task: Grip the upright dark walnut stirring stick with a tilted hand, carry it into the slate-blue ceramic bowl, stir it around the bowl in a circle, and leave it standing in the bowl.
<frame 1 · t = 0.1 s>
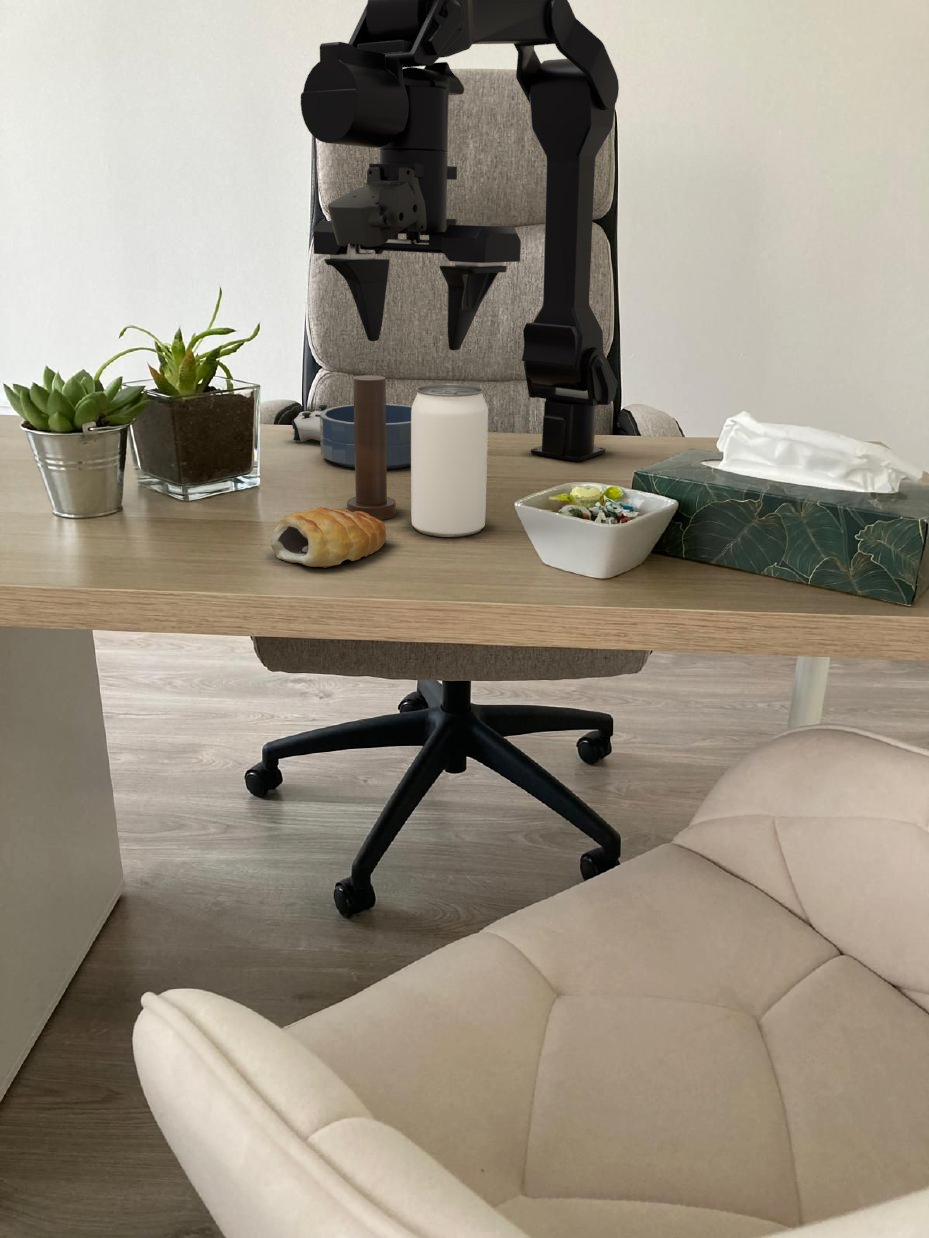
hand: (412, 345, 91), 15 cm above the table, tool pointing down, fingers open, 9 cm apart
game controller: (323, 439, 123), on the table
bowl: (377, 458, 114), on the table
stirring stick: (371, 514, 93), on the table
can: (448, 529, 90), on the table
pastry: (328, 556, 82), on the table
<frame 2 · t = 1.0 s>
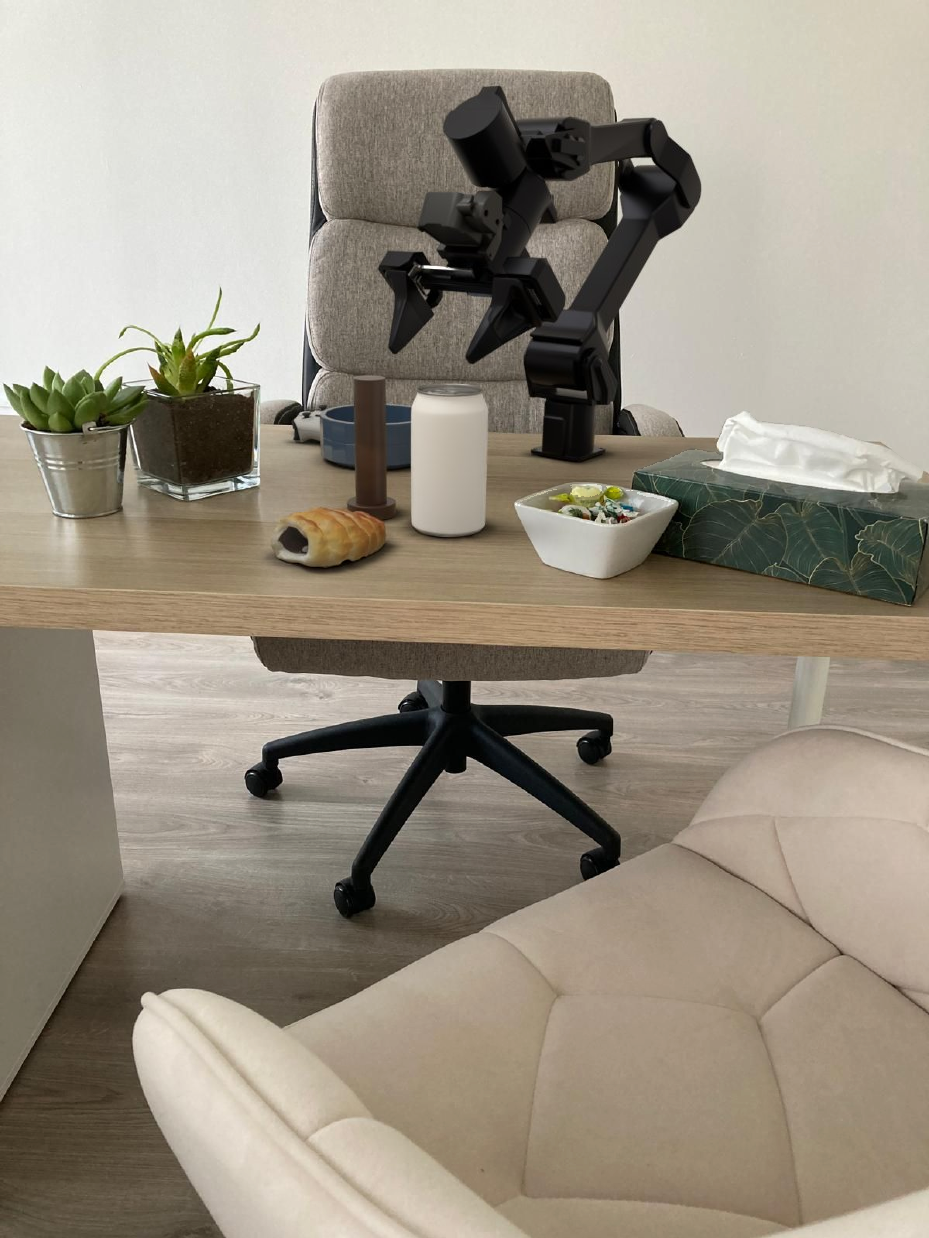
hand: (429, 356, 94), 13 cm above the table, tool tilted 45°, fingers open, 9 cm apart
nothing on the table moved.
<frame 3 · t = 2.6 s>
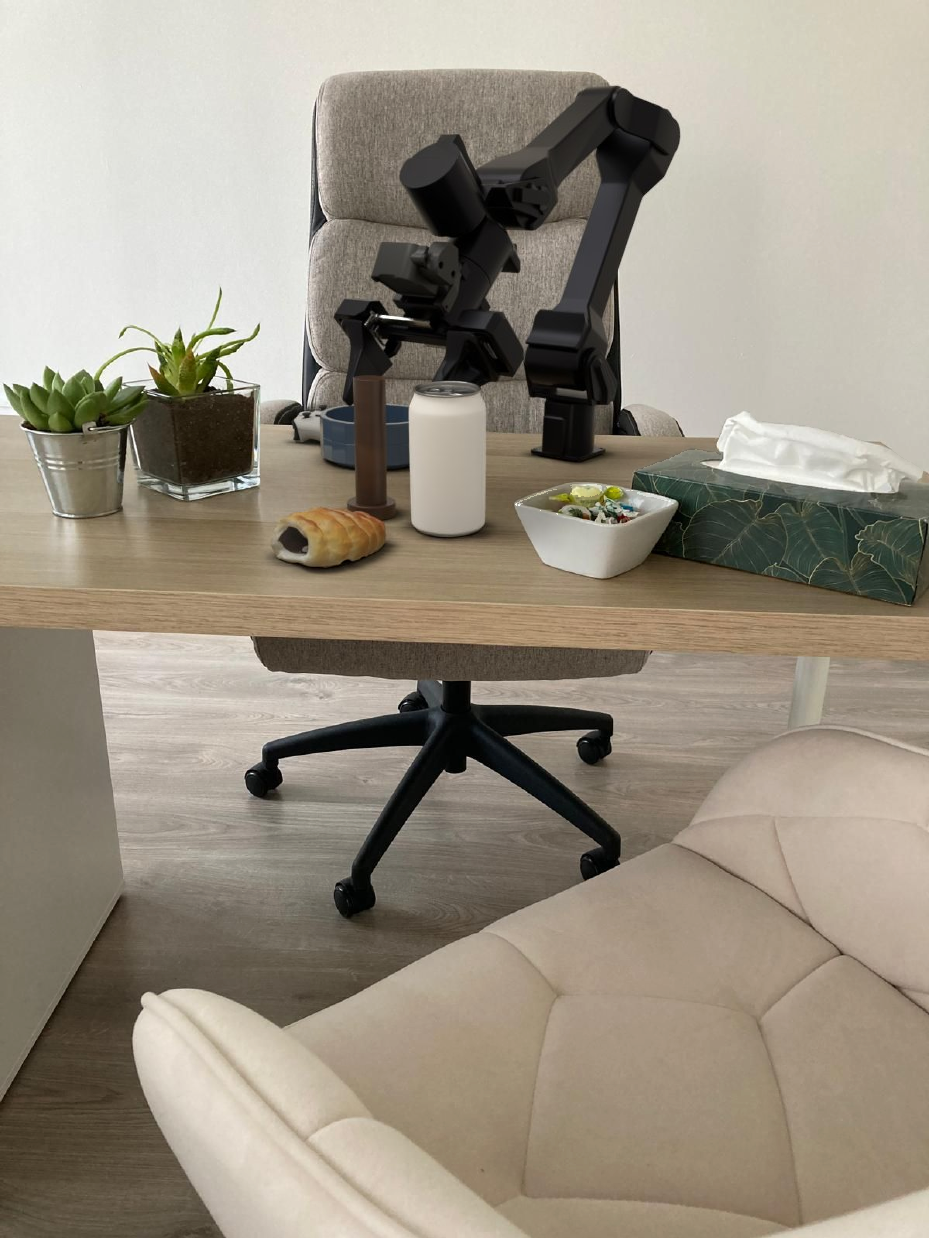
hand: (382, 409, 91), 9 cm above the table, tool tilted 45°, fingers open, 9 cm apart
can: (448, 527, 90), on the table, touching gripper
everything else where it was.
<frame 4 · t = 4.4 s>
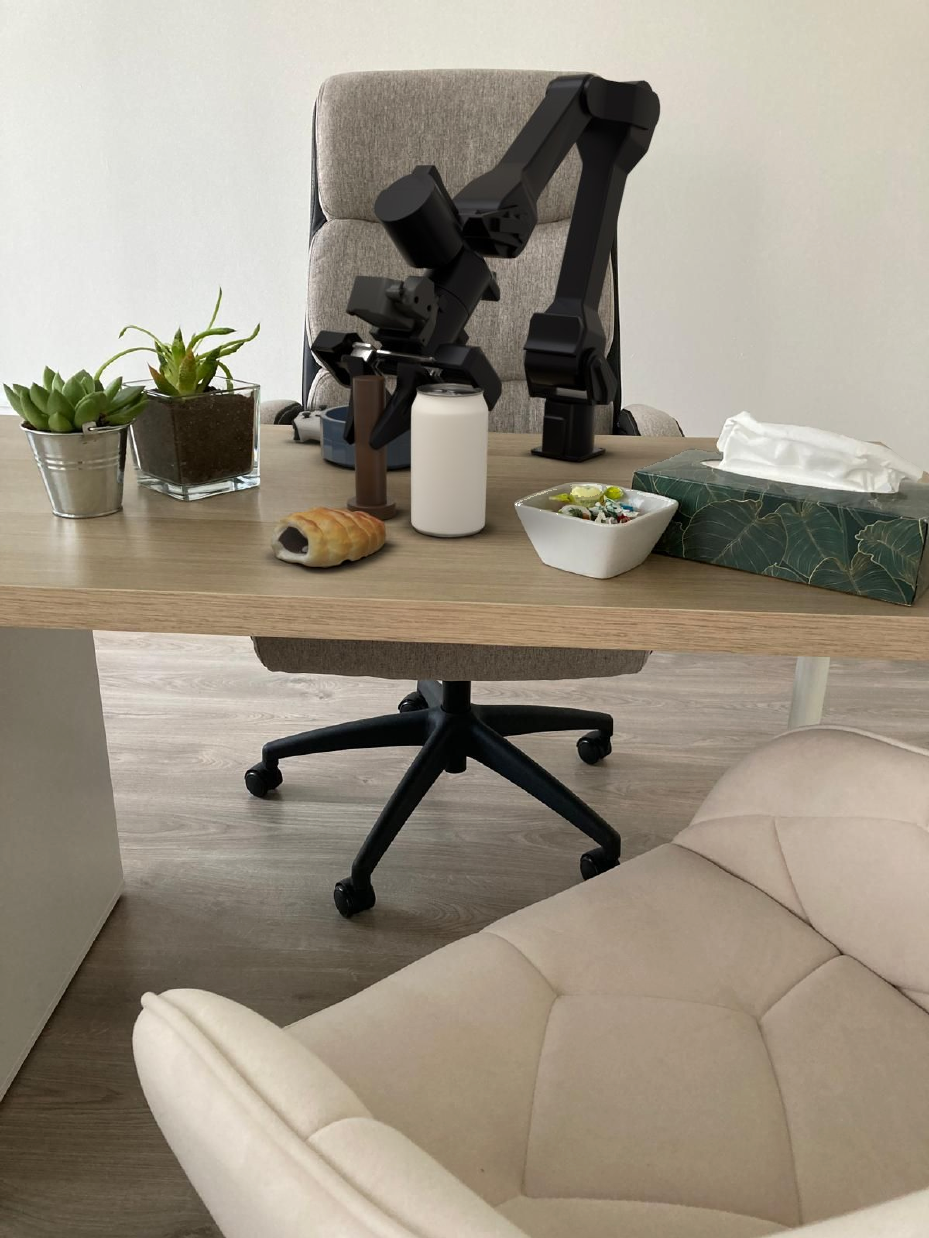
hand: (359, 444, 90), 7 cm above the table, tool tilted 45°, fingers closed on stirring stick, 3 cm apart
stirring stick: (371, 514, 93), on the table, touching gripper
can: (448, 529, 90), on the table
everything else where it was.
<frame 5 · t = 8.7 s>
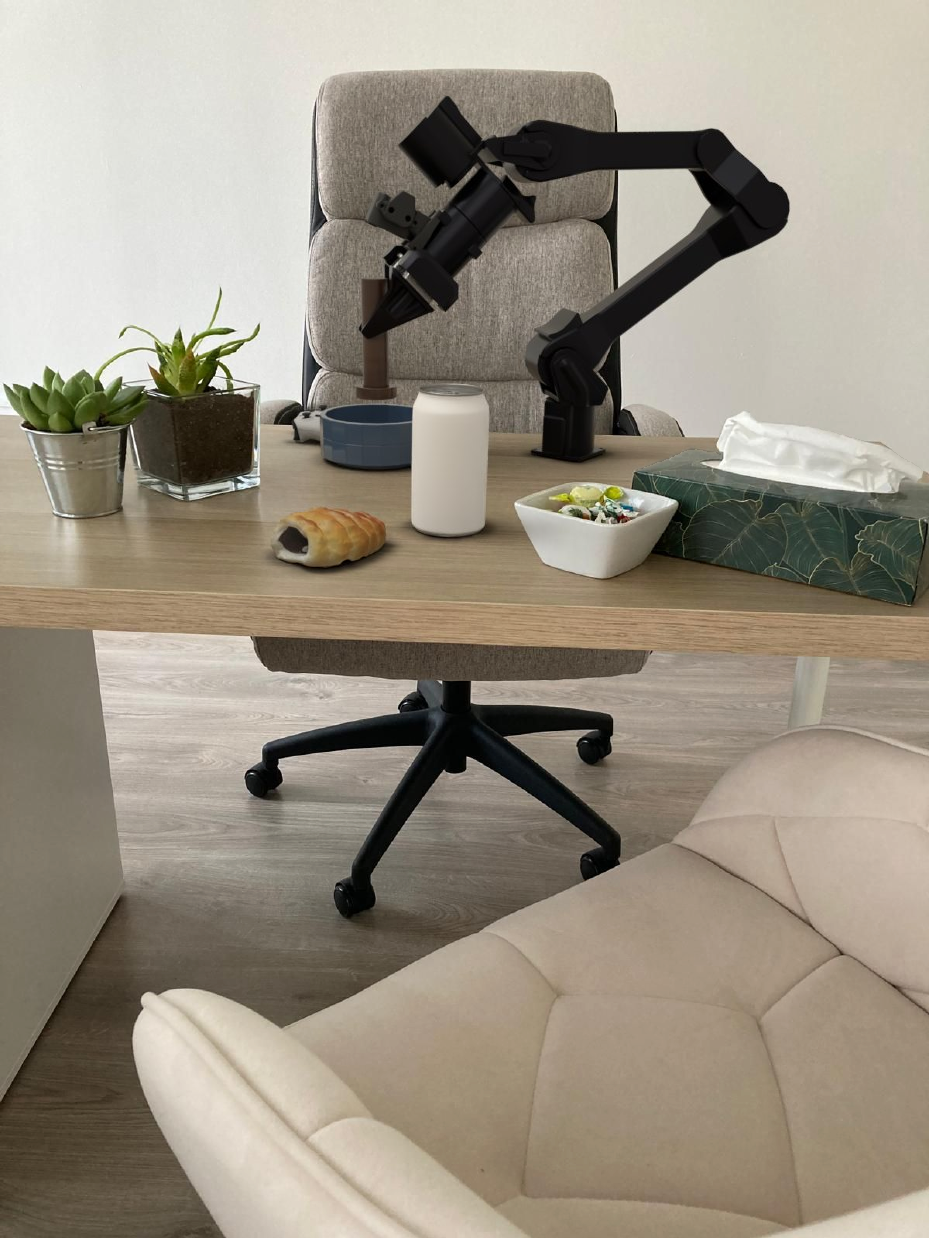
hand: (362, 334, 108), 13 cm above the table, tool tilted 45°, fingers closed on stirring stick, 3 cm apart
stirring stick: (376, 396, 111), point 7 cm above the table, touching gripper
everything else where it was.
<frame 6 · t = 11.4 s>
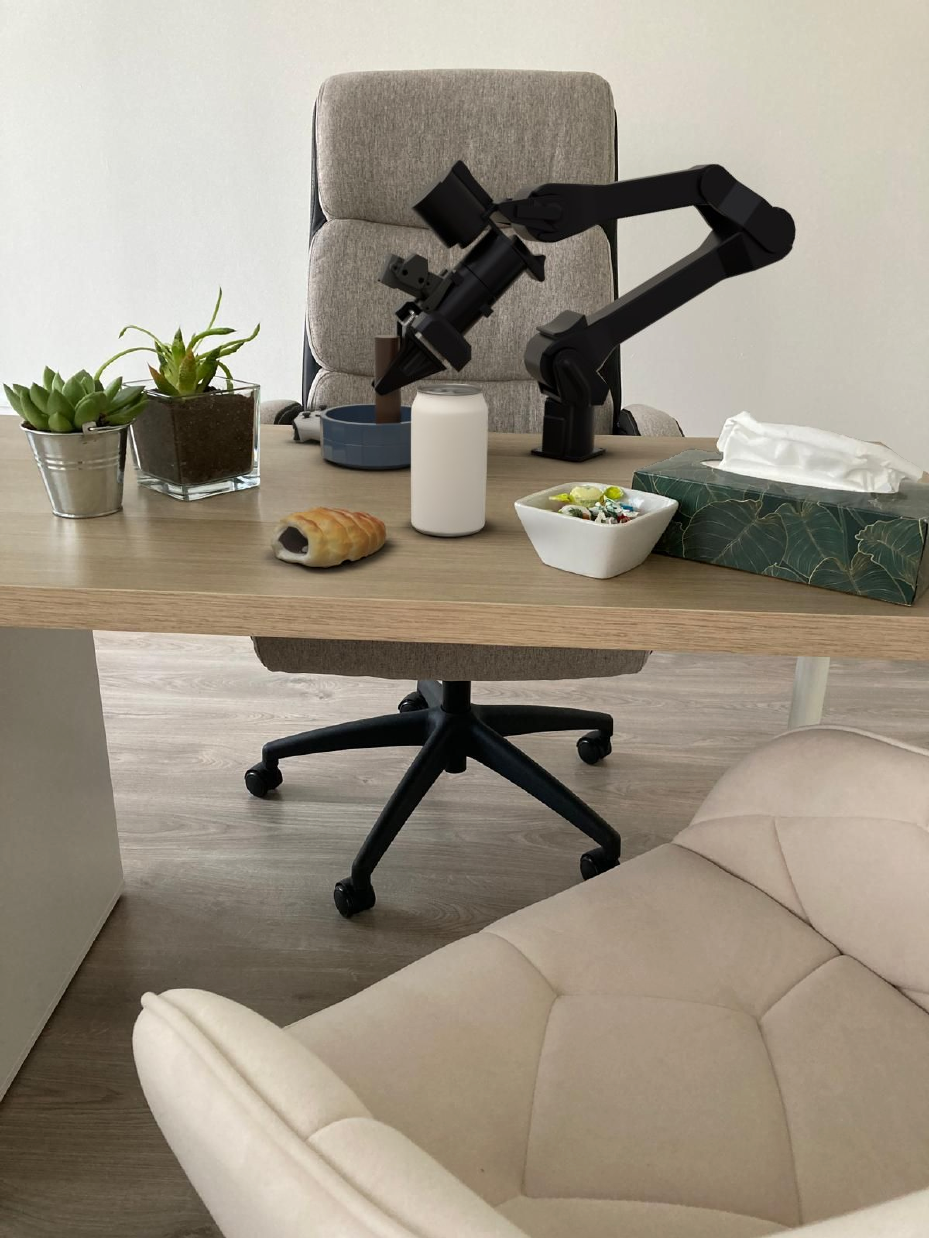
hand: (375, 390, 110), 8 cm above the table, tool tilted 45°, fingers closed on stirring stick, 3 cm apart
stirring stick: (388, 450, 113), point 1 cm above the table, touching gripper
everything else where it was.
when the fingers open (7 cm above the table, at t = 13.3 s): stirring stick stays where it is, resting on bowl.
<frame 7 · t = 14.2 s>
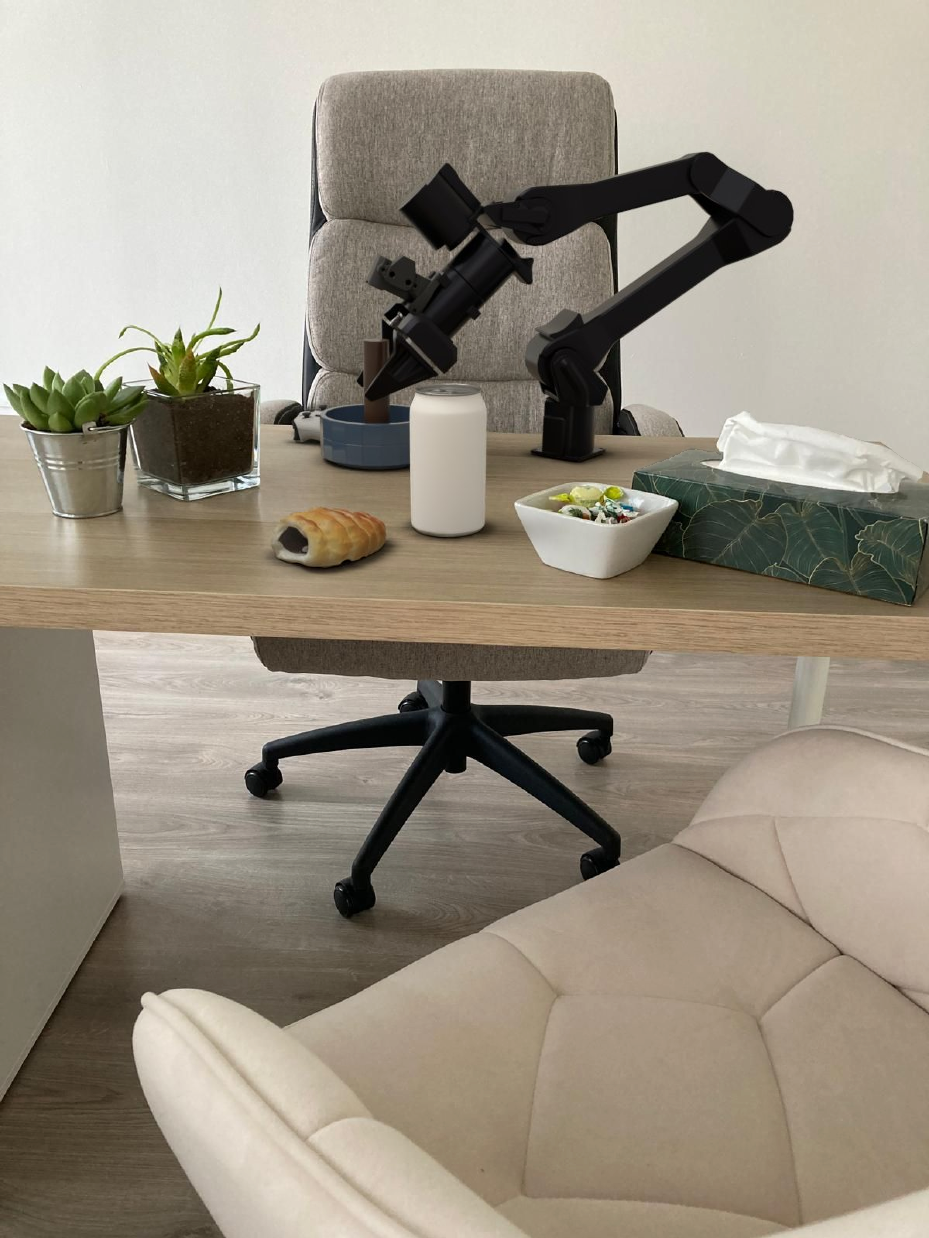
hand: (363, 391, 111), 7 cm above the table, tool tilted 45°, fingers open, 9 cm apart
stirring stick: (377, 453, 113), point 1 cm above the table, touching bowl
everything else where it was.
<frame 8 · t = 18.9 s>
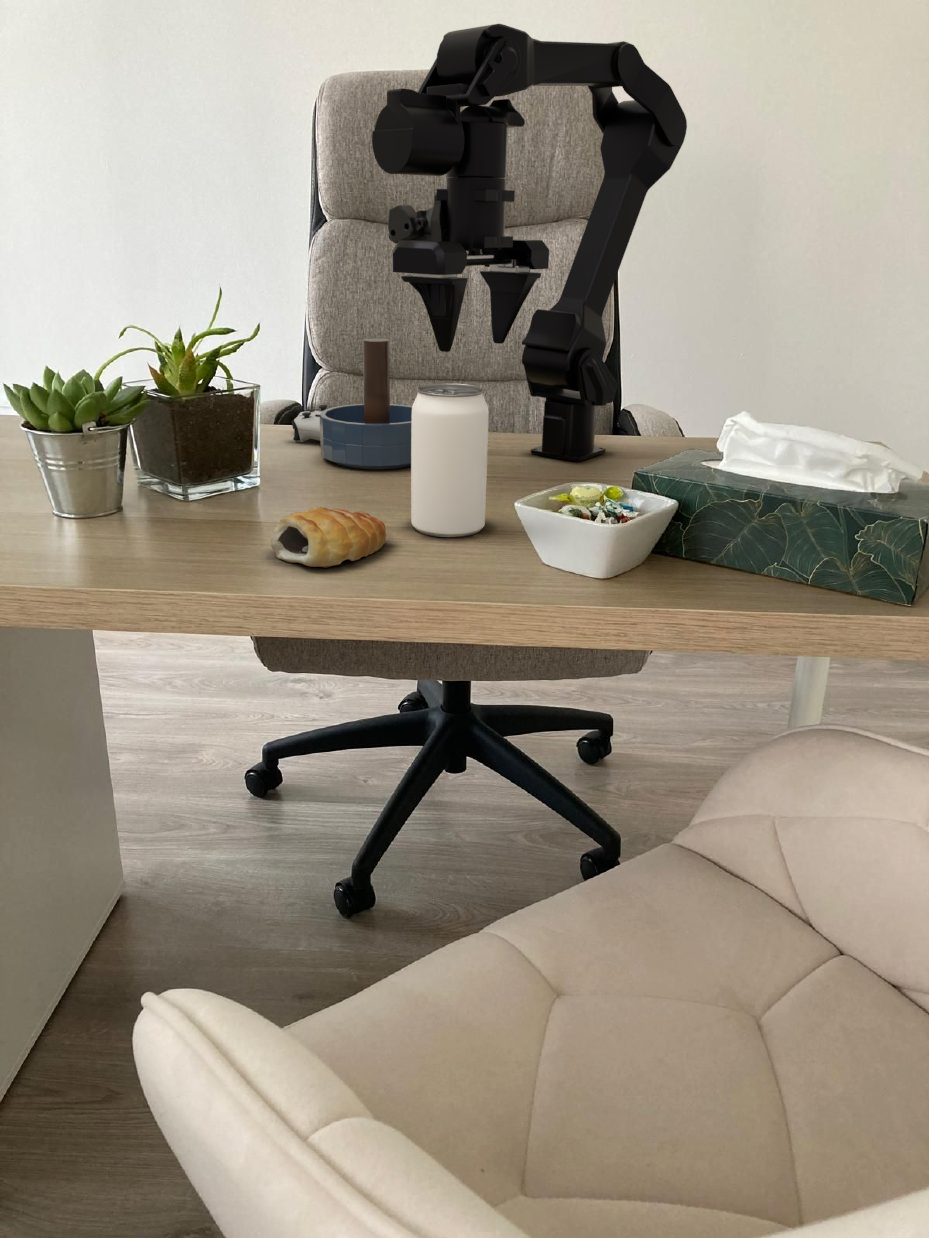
hand: (472, 347, 103), 13 cm above the table, tool pointing down, fingers open, 9 cm apart
nothing on the table moved.
at the end: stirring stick 0.1 cm off-centre in the bowl, point 0.6 cm above the bowl's base; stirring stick tilted 0°; the gripper is holding nothing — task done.
